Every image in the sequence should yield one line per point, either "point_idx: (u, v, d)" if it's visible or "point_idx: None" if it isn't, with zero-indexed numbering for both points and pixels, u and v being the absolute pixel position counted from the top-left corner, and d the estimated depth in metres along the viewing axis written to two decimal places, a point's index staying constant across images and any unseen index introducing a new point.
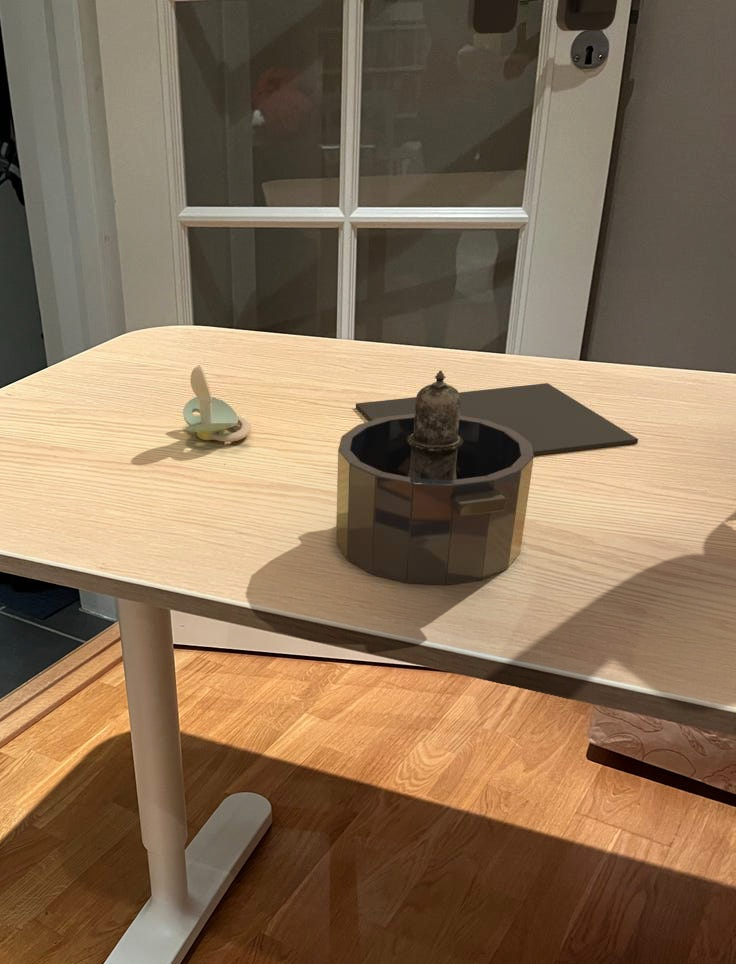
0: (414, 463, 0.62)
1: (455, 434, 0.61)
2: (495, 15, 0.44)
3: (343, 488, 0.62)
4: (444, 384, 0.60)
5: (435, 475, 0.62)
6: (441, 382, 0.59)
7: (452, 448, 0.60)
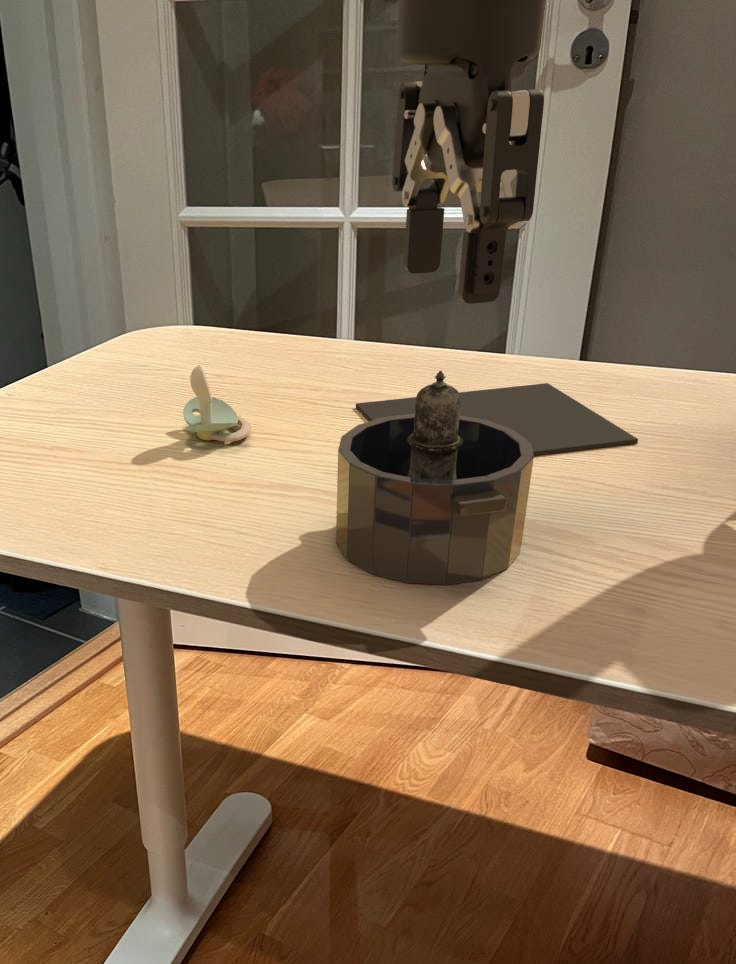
0: (414, 463, 0.62)
1: (455, 434, 0.61)
2: (424, 261, 0.59)
3: (343, 488, 0.62)
4: (444, 384, 0.60)
5: (435, 475, 0.62)
6: (441, 382, 0.59)
7: (452, 448, 0.60)
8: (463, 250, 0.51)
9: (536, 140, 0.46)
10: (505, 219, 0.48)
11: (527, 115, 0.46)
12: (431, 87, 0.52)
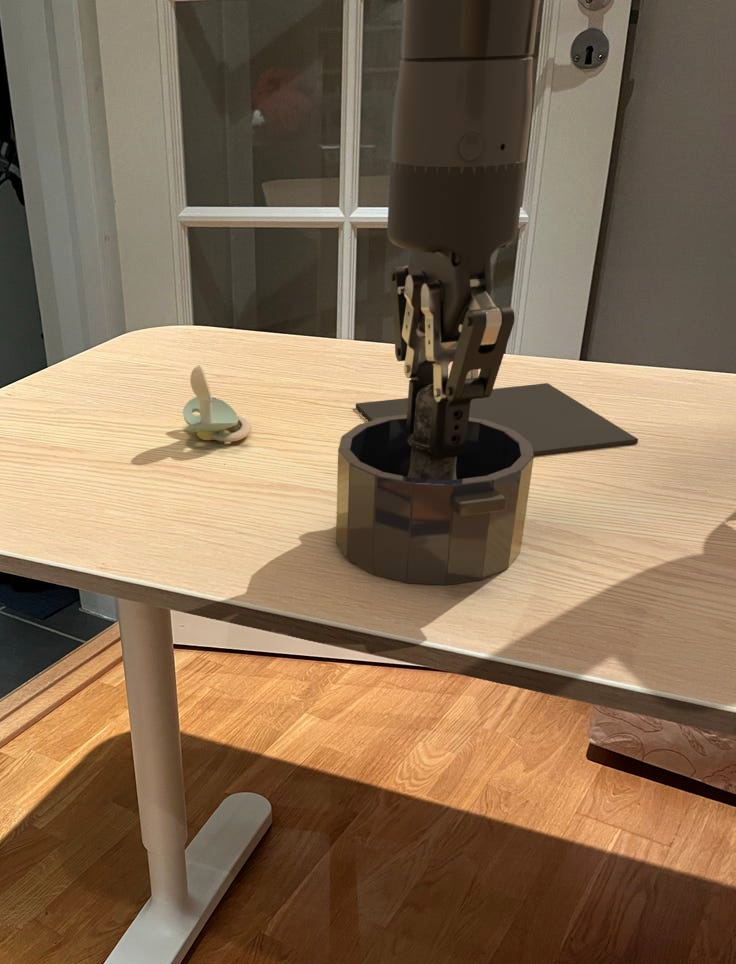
0: (414, 463, 0.62)
1: None
2: None
3: (343, 488, 0.62)
4: None
5: (435, 475, 0.61)
6: None
7: None
8: (433, 415, 0.59)
9: (502, 348, 0.53)
10: (468, 397, 0.55)
11: (497, 333, 0.52)
12: (419, 259, 0.57)
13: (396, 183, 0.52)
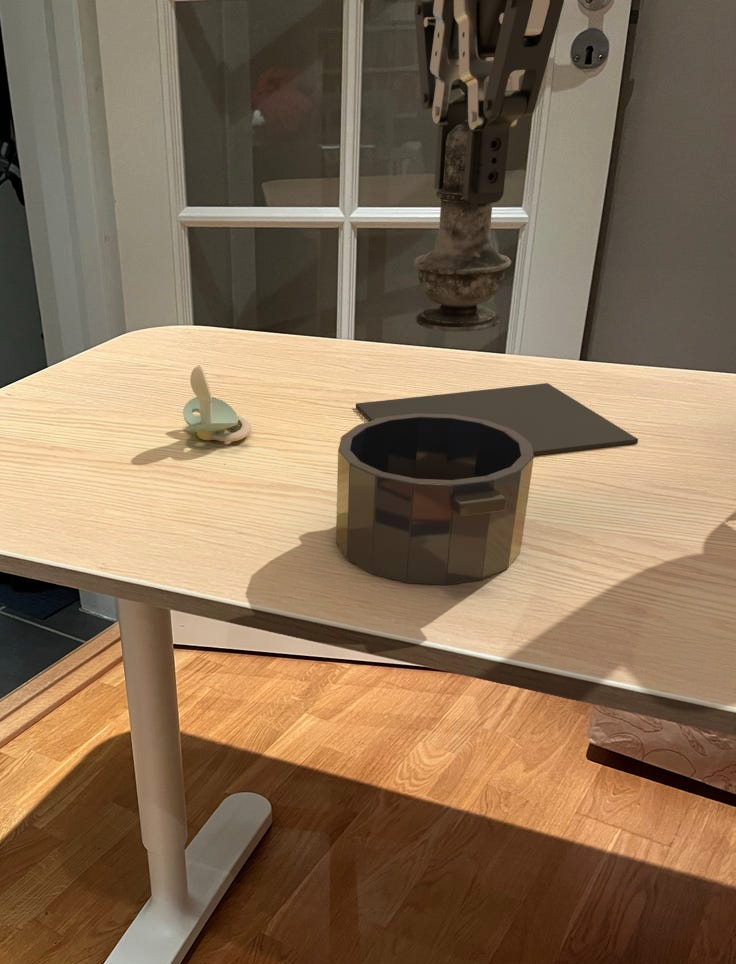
0: (444, 220, 0.56)
1: None
2: None
3: (343, 488, 0.62)
4: None
5: (469, 231, 0.55)
6: None
7: None
8: (467, 149, 0.52)
9: (549, 41, 0.47)
10: (508, 112, 0.49)
11: (544, 17, 0.46)
12: None
13: None
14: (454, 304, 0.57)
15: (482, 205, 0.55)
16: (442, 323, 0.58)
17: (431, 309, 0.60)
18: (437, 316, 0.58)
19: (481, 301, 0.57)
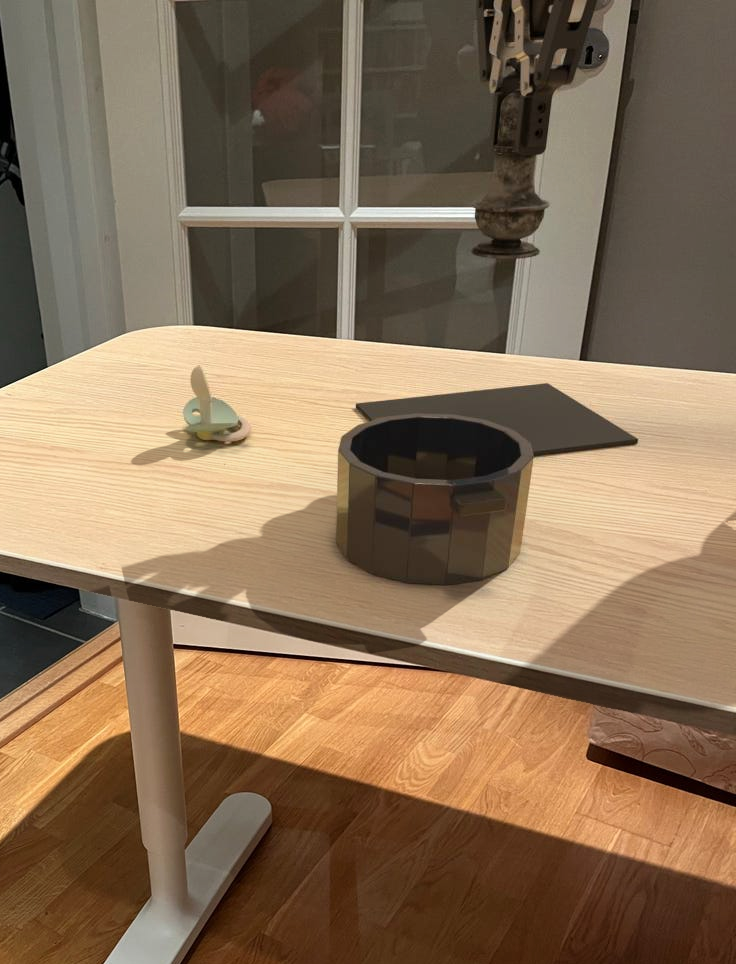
0: (498, 169, 0.70)
1: None
2: None
3: (343, 488, 0.62)
4: None
5: (517, 177, 0.70)
6: None
7: None
8: (519, 112, 0.67)
9: (586, 27, 0.61)
10: (553, 81, 0.64)
11: (583, 8, 0.60)
12: None
13: None
14: (504, 237, 0.72)
15: (528, 157, 0.69)
16: (494, 252, 0.72)
17: (484, 243, 0.75)
18: (489, 248, 0.73)
19: (525, 235, 0.72)
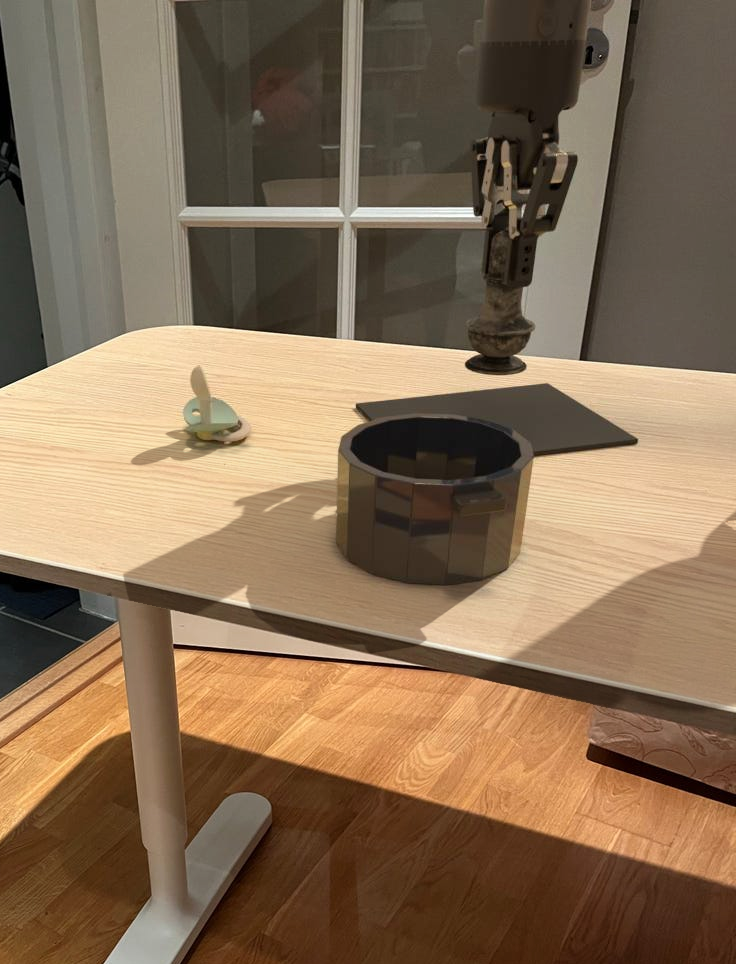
0: (488, 296, 0.78)
1: None
2: None
3: (343, 488, 0.62)
4: None
5: (506, 305, 0.77)
6: None
7: None
8: (507, 251, 0.75)
9: (567, 186, 0.69)
10: (538, 230, 0.71)
11: (564, 172, 0.68)
12: (498, 126, 0.73)
13: (486, 58, 0.68)
14: (494, 355, 0.79)
15: None
16: (485, 369, 0.80)
17: (476, 357, 0.82)
18: (481, 363, 0.81)
19: (513, 353, 0.79)
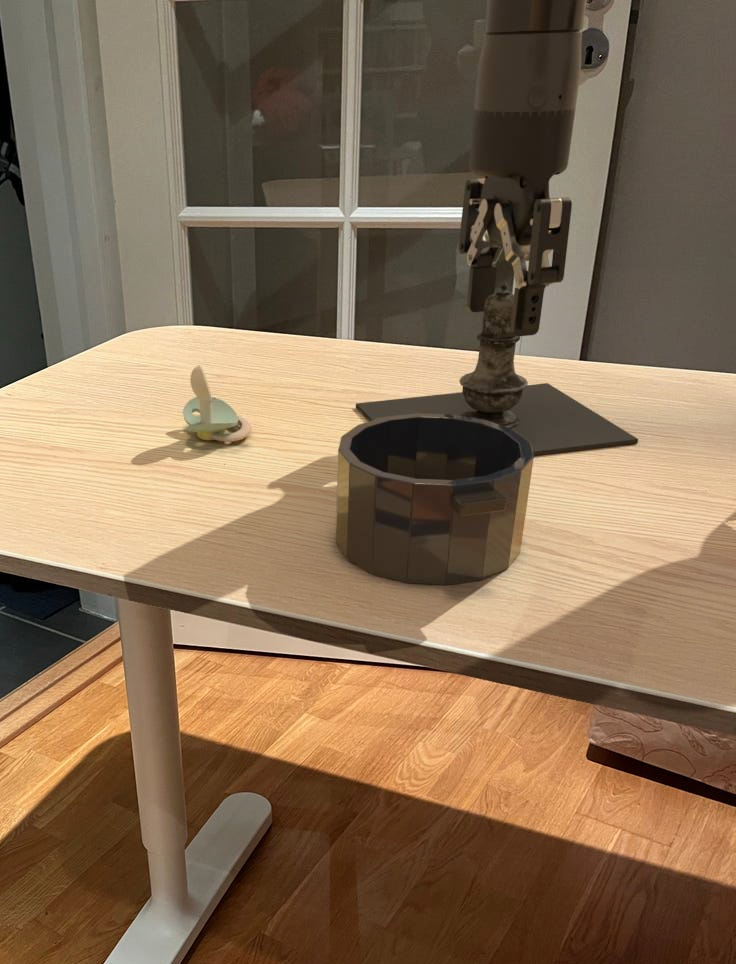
0: (482, 355, 0.81)
1: None
2: (481, 303, 0.83)
3: (343, 488, 0.62)
4: (507, 291, 0.78)
5: (499, 364, 0.80)
6: (505, 290, 0.78)
7: (512, 341, 0.79)
8: (514, 300, 0.75)
9: (566, 230, 0.70)
10: (545, 281, 0.71)
11: (560, 214, 0.69)
12: (491, 187, 0.76)
13: (479, 126, 0.71)
14: (487, 411, 0.82)
15: (508, 347, 0.80)
16: None
17: (470, 411, 0.85)
18: None
19: (506, 409, 0.82)
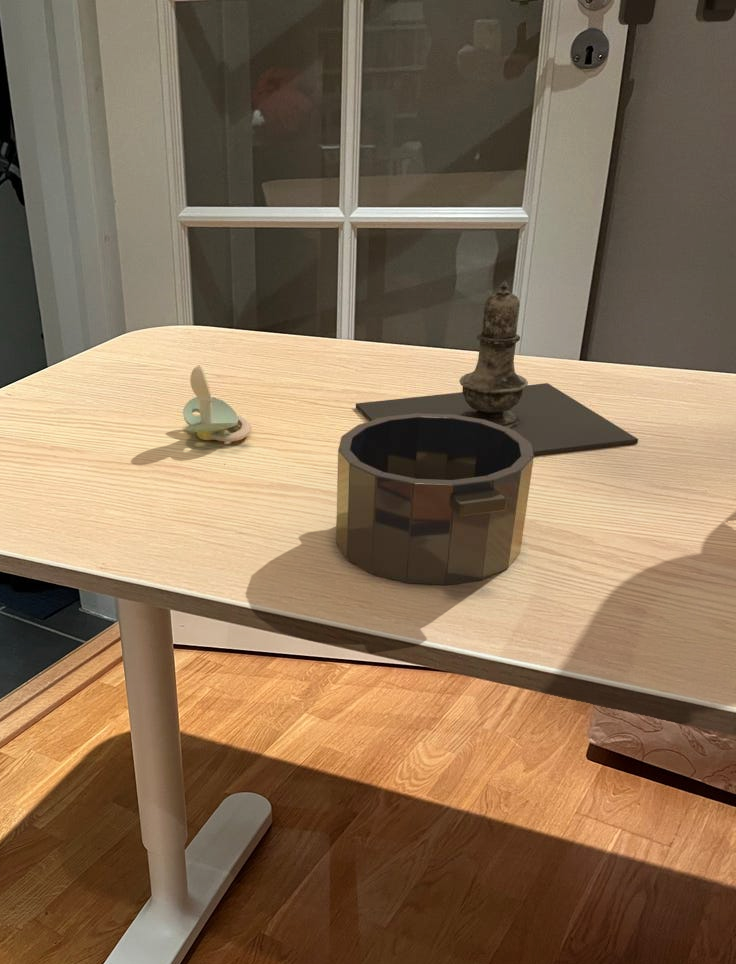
0: (482, 355, 0.81)
1: (514, 331, 0.79)
2: (639, 12, 0.63)
3: (343, 488, 0.62)
4: (507, 291, 0.78)
5: (499, 363, 0.80)
6: (505, 290, 0.78)
7: (512, 341, 0.79)
8: None
9: None
10: None
11: None
12: None
13: None
14: (487, 411, 0.82)
15: (508, 347, 0.80)
16: None
17: (470, 411, 0.85)
18: None
19: (506, 409, 0.82)
